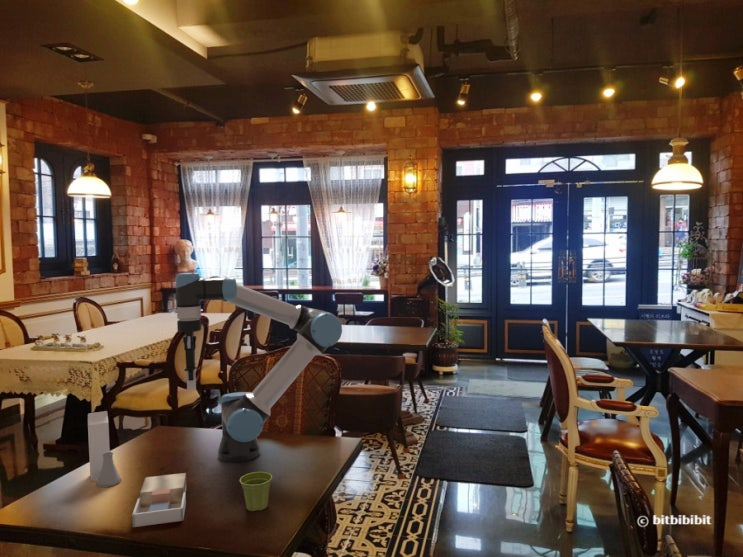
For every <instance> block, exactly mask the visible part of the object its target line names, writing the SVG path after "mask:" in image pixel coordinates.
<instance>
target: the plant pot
mask: <svg viewBox="0 0 743 557" xmlns="http://www.w3.org/2000/svg"><path fill="white" fill-rule="evenodd" d="M272 480H273V475H272V474H271V473H269V472H266V471H253V472H249V473H245V474H244V475H243V476H240V479H239V483H240V484H241V488H242V490H243V496H244V497H243V498H244V501H245V508H246V509H247V510H248V511H250V512H255V511H263V510H265V509H267V507H268V505H269V495H270V486H271V481H272Z"/></svg>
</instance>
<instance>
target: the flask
mask: <svg viewBox="0 0 743 557" xmlns="http://www.w3.org/2000/svg"><path fill="white" fill-rule="evenodd" d="M113 455H114V451H110V452H105V453H103V454H102V456H103V466H102V469H101V472H100V475H99V478H98V480H96V481H97V482H96V484H95V486H97V487H100V488H107V487H113V486H115V485H118V484H119V483H121V481H122V478H121V475H120V473H119V472H118V470H117V467H116V465H115V463H114V458H113Z"/></svg>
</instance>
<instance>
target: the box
mask: <svg viewBox="0 0 743 557" xmlns="http://www.w3.org/2000/svg"><path fill="white" fill-rule="evenodd" d="M186 492H187V491H186ZM186 492H185V493H183V498H182V503H176V504H171V509H166V510H159V511H151V512H148V511H149V508H150V507H145V508H141V499H140V497H138V498H137V499H136V503H135V506H134V509H133V512H132V514H131V518H132V519H131V520H132V528H137V527H145V526H153V525H158V524H167V523H177V522H184V520H185V514H186V513H185V512H186V505H187V499H186V498H187V495H186V494H187V493H186Z"/></svg>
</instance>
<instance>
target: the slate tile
mask: <svg viewBox="0 0 743 557" xmlns="http://www.w3.org/2000/svg"><path fill="white" fill-rule="evenodd" d="M166 509H170V503H169V502H162V503H153V504H151V505H150V508H149V511H148V512H151V511H159V510H166Z"/></svg>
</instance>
